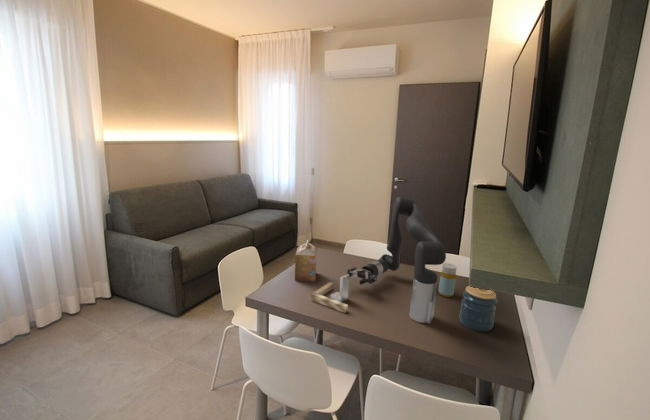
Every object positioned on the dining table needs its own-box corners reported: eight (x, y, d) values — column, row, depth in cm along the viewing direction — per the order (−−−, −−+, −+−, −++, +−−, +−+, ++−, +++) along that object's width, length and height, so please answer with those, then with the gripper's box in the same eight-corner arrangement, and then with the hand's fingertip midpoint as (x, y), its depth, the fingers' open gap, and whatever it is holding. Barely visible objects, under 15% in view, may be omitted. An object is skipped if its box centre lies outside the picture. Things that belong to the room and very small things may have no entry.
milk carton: (315, 281, 161) (316, 246, 157) (294, 280, 161) (295, 245, 157) (316, 273, 171) (317, 240, 167) (296, 271, 171) (297, 238, 167)
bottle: (437, 295, 152) (441, 266, 149) (439, 289, 158) (443, 262, 155) (452, 299, 149) (456, 269, 146) (454, 293, 155) (458, 265, 152)
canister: (497, 334, 122) (505, 293, 119) (462, 329, 125) (468, 288, 121) (487, 317, 135) (494, 279, 131) (455, 312, 137) (461, 275, 133)
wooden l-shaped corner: (362, 298, 145) (362, 292, 145) (345, 313, 132) (345, 306, 131) (329, 287, 155) (329, 281, 154) (310, 300, 142) (311, 294, 141)
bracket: (347, 299, 144) (349, 274, 142) (340, 302, 141) (342, 278, 138) (337, 293, 149) (338, 270, 146) (330, 297, 145) (331, 273, 142)
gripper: (361, 259, 161) (341, 267, 149) (385, 267, 152) (365, 276, 140) (360, 272, 163) (340, 281, 151) (384, 281, 153) (364, 292, 141)
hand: (352, 279), depth 145 cm, fingers open, 8 cm apart
